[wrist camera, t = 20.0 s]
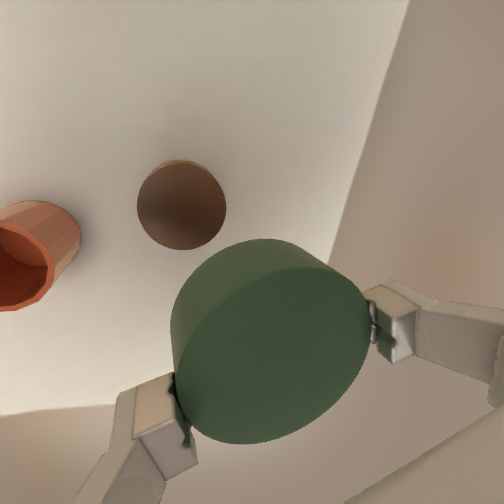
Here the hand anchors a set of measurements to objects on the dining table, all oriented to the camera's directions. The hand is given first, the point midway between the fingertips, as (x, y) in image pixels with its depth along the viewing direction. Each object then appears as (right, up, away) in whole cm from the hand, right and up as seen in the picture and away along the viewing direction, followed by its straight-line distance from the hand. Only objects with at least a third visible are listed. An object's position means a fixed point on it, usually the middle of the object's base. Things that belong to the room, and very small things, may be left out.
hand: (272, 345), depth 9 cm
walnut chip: (-6, +7, +13) cm, 16 cm away
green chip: (-1, +1, +2) cm, 2 cm away
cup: (-17, +4, +13) cm, 22 cm away
